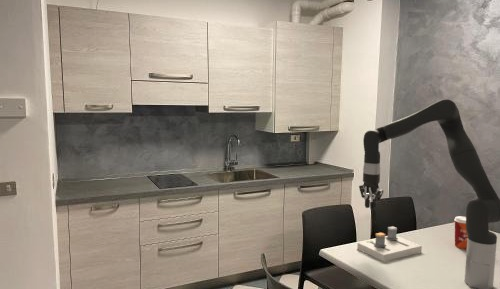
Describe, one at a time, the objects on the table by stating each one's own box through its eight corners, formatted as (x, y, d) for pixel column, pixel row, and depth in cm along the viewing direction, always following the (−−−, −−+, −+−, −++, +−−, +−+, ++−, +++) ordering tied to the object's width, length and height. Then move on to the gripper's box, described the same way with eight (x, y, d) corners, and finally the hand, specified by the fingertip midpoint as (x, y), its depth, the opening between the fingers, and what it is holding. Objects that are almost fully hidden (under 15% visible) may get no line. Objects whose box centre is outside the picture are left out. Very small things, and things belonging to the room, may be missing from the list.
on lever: (391, 240, 175) (391, 229, 174) (385, 238, 177) (386, 227, 177) (397, 239, 177) (398, 227, 176) (392, 237, 179) (393, 225, 179)
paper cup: (461, 250, 172) (463, 221, 170) (448, 244, 179) (450, 216, 178) (474, 248, 174) (477, 220, 172) (461, 242, 181) (463, 215, 180)
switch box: (383, 261, 159) (383, 254, 158) (357, 248, 173) (357, 242, 173) (421, 252, 169) (421, 245, 169) (393, 240, 184) (394, 234, 183)
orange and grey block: (379, 247, 166) (379, 235, 165) (373, 245, 168) (374, 233, 168) (386, 246, 168) (386, 234, 167) (380, 243, 170) (381, 232, 170)
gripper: (389, 174, 166) (387, 211, 168) (366, 169, 179) (365, 204, 181) (376, 175, 163) (375, 213, 165) (354, 170, 175) (353, 205, 177)
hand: (370, 208), depth 173 cm, fingers open, 3 cm apart
